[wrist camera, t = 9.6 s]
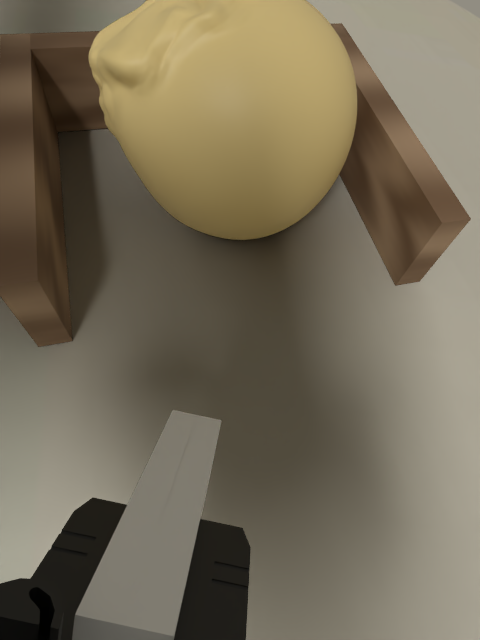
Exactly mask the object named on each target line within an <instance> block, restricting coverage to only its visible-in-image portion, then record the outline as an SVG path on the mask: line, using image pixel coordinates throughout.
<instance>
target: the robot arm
mask: <svg viewBox="0 0 480 640" xmlns="http://www.w3.org/2000/svg"><path fill="white" fill-rule="evenodd" d="M221 421H222V420H219V419H214V418H209V417H204V416H200V415H195V414H190V413H185V412H181V411H176V410H172V412H171V414H170V416H169V419H168V421H167V423H166V425H165V427H164V429H163V431H162V433H161V435H160V437H159V440H158V442H157V444H156V446H155V448H154V450H153V452H152V454H151V456H150V458H149V460H148V463H147V465H146V467H145V469H144V471H143V473H142V475H141V477H140V479H139V481H138V484H137V486H136V488H135V490H134V492H133V494H132V496H131V498H130V500H129V502H128V505H125V504H120V503H116V502H111V501H106V500H102V499H97V498H92V499H90V500H89V501H87V502H86V503H85V504H83V505H82V506H81V507H79V508H78V509H76V510H75V511H74V512H73V514H72V515H71V517H70V518H69V520H68V521H67V523H66V525H65V526H64V528H63V529H62V532H61V534H59V535H58V537H57V539H56V540H55V542H54V543H53V545H52V547H51V550H49V551H48V553H47V554H46V556H45V557H44V559H43V560H42V562H41V563H40V565H39V567H38V568H37V570H36V571H35V573H34V574H33V576H32V577H31V579H22V578H20V579H16V580H12V581H9V582H5V583H1V584H0V640H246V622H247V603H248V584H249V565H250V545H249V543H248V540H247V538H246V535H245V533H244V531H243V528H240V527H235V526H230V525H226V524H221V523H216V522H212V521H207V520H202V519H201V517H202V513H203V508H204V503H205V499H206V494H207V489H208V484H209V479H210V475H211V470H212V465H213V460H214V455H215V450H216V445H217V441H218V436H219V431H220V426H221Z"/></svg>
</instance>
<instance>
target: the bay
mask: <svg viewBox="0 0 480 640" xmlns="http://www.w3.org/2000/svg"><path fill="white" fill-rule="evenodd" d="M331 26H332V27H333V28H334V30H335V31H336V33H337V34H338V36H339V37H340V39H341V41H342V43H343V45H344V47H345V49H346V51H347V53H348V55H349V58H350V61H351V64H352V67H353V71H354V76H355V81H356V89H357V119H356V126H355V132H354V137H353V141H352V144H351V148H350V151H349V153H348V156H347V159H346V161H345V163H344V165H343V168H342V170H341V172H340V173H339V174H340V176H341V178H342V180H343V182H344V184H345V186H346V188H347V190H348V192H349V194H350V196H351V198H352V200H353V202H354V204H355V206H356V208H357V210H358V212H359V214H360V216H361V218H362V220H363V222H364V224H365V226H366V228H367V230H368V232H369V234H370V236H371V238H372V240H373V242H374V244H375V246H376V248H377V250H378V252H379V254H380V256H381V258H382V260H383V262H384V264H385V266H386V268H387V270H388V272H389V274H390V276H391V278H392V280H393V282H394V284H395V286H396V285H401V284H407V283H413V282H419V281H420V280H421V279H422V278H423V277H424V275H425V274H426V273H427V272H428V270H429V269H430V268H431V267H432V266H433V264H434V263H435V262H436V261H437V260H438V258H439V257H440V256H441V255H442V253H443V252H444V251H445V250H446V249H447V247H448V246H449V245H450V244H451V242H452V241H453V240H454V239H455V238H456V236H457V235H458V234H459V233H460V232H461V230H462V229H463V228H464V227H465V225H466V224H467V223H468V222H469V221H470V219H471V218H470V217H469V215H468V214H467V212H466V211H465V209H464V208H463V206H462V205H461V203H460V202H459V200H458V199H457V197H456V196H455V194H454V193H453V191H452V190H451V188H450V187H449V185H448V184H447V182H446V181H445V179H444V177H443V176H442V174H441V173H440V171H439V170H438V168H437V167H436V165H435V164H434V162H433V161H432V159H431V158H430V156H429V155H428V153H427V152H426V150H425V149H424V147H423V146H422V144H421V143H420V141H419V140H418V138H417V137H416V135H415V133H414V132H413V130H412V129H411V127H410V126H409V124H408V123H407V121H406V120H405V118H404V117H403V115H402V114H401V112H400V111H399V109H398V108H397V106H396V105H395V103H394V102H393V100H392V99H391V97H390V96H389V94H388V93H387V91H386V90H385V88H384V86H383V85H382V83H381V82H380V80H379V79H378V77H377V76H376V74H375V73H374V71H373V70H372V68H371V67H370V65H369V64H368V62H367V61H366V59H365V58H364V56H363V55H362V53H361V52H360V50H359V49H358V47H357V46H356V44H355V42H354V41H353V39H352V38H351V36H350V35H349V33H348V32H347V30H346V29H345V27H344V26H343V24H342V23H341V24H331ZM99 32H100V31H91V32H60V33H28V34H0V296H1V298H2V299H3V300H4V302H5V303H6V304H7V306H8V307H9V308H10V310H11V311H12V312H13V314H14V315H15V316H16V318H17V319H18V320H19V322H20V323H21V324H22V326H23V327H24V328H25V330H26V331H27V332H28V334H29V335H30V336H31V338H32V339H33V340H34V342H35V343H36V344H37V345H38V347H41V346H46V345H52V344H58V343H64V342H70V341H72V328H71V314H70V300H69V286H68V272H67V258H66V244H65V229H64V215H63V201H62V187H61V173H60V159H59V145H58V132H63V131H77V130H90V129H103V128H108V127H107V126H106V124H105V119H104V112H103V111H102V109H101V107H100V104H99V97H100V89H99V86H98V84H97V83H96V81H95V79H94V77H93V75H92V69H91V67H90V64H89V51H90V48H91V46H92V44H93V41H94V39H95V37H96V36H97V34H98V33H99Z"/></svg>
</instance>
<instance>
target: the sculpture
mask: <svg viewBox="0 0 480 640" xmlns="http://www.w3.org/2000/svg"><path fill="white" fill-rule="evenodd" d="M89 64H90V67H91V69H92V75H93V77H94V79H95V81H96V83H97V84H98V86H99V89H100V97H99V104H100V107H101V109H102V111H103V112H104V119H105V124H106V126H107V127H108V129H109V130H110V132H111V133H112V134H113V135H114V136H115V137H116V139H117V140H118V141H119V143H120V145H121V148H122V150H123V152H124V153H125V155H126V157H127V159H128V160H129V162H130V164H131V165H132V167H133V169H134V170H135V172H136V173H137V175H138V176H139V178H140V179H141V181H142V182H143V184H144V185H145V187H146V188H147V189H148V191H149V192H150V194H151V195H152V196H153V197H154V198H155V200H156V201H157V202H158V203H159V204H160V205H161V206H162V207H163V208H164V209H165V210H166V211H167V212H168V213H169V214H170V215H172V216H173V217H174V218H176V219H177V220H178V221H180V222H181V223H183V224H185V225H186V226H188V227H190V228H192V229H195V230H197V231H199V232H202V233H205V234H208V235H211V236H215V237H220V238H225V239H234V240H248V239H256V238H261V237H265V236H269V235H272V234H275V233H277V232H279V231H282V230H284V229H286V228H288V227H289V226H291V225H293V224H294V223H296V222H297V221H299V220H300V219H302V218H303V217H304V216H305V215H307V214H308V213H309V212H310V211H311V210H312V209H313V208H314V207H315V206H316V205H317V204H318V203H319V202H320V201H321V200H322V199H323V197H324V196H325V195H326V194H327V192H328V191H329V189H330V188H331V187H332V185H333V184H334V182H335V180H336V179H337V177H338V175H339V173H340V172H341V170H342V168H343V165H344V163H345V161H346V159H347V156H348V153H349V151H350V148H351V144H352V141H353V137H354V132H355V126H356V119H357V89H356V81H355V76H354V71H353V67H352V64H351V61H350V58H349V55H348V53H347V51H346V49H345V47H344V45H343V43H342V41H341V39H340V37H339V36H338V34H337V33H336V31H335V30H334V28H333V27H332V26H331V24H330V23H329V22H328V21H327V19H326V18H325V17H324V16H323V15H322V14H321V13H320V12H319V11H318V10H317V9H316V8H315V7H314V6H312V5H311V4H310V3H308V2H307V1H306V0H146V1H145V2H144V3H143V4H142V5H141V6H140V7H139V8H137V9H136V10H134V11H133V12H131V13H129V14H127V15H125V16H124V17H122V18H120V19H118V20H116V21H115V22H113V23H112V24H110V25H109V26H107V27H106V28H104V29H103V30H101V31H100V32H99V33H98V34H97V36H96V37H95V39H94V41H93V44H92V46H91V48H90V51H89Z"/></svg>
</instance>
